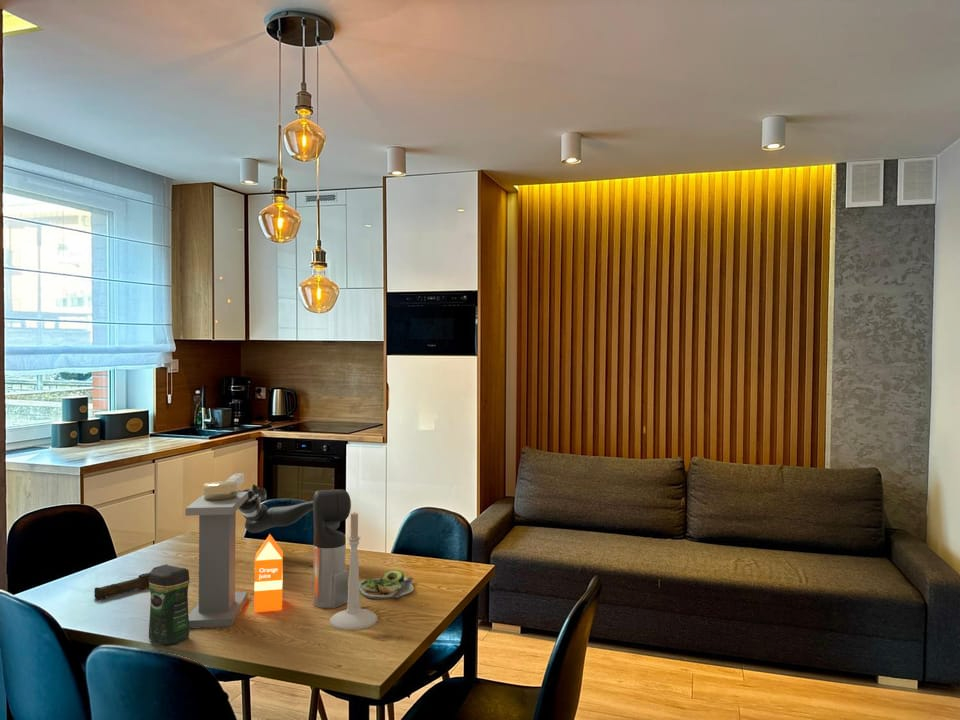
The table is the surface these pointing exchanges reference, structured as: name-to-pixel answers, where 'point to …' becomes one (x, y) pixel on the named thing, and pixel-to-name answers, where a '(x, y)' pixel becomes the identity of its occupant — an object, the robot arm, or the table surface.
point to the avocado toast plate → (387, 585)
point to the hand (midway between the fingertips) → (240, 487)
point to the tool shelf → (217, 562)
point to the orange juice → (268, 577)
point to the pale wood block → (223, 488)
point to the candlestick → (353, 591)
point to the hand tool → (122, 587)
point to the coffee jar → (169, 604)
